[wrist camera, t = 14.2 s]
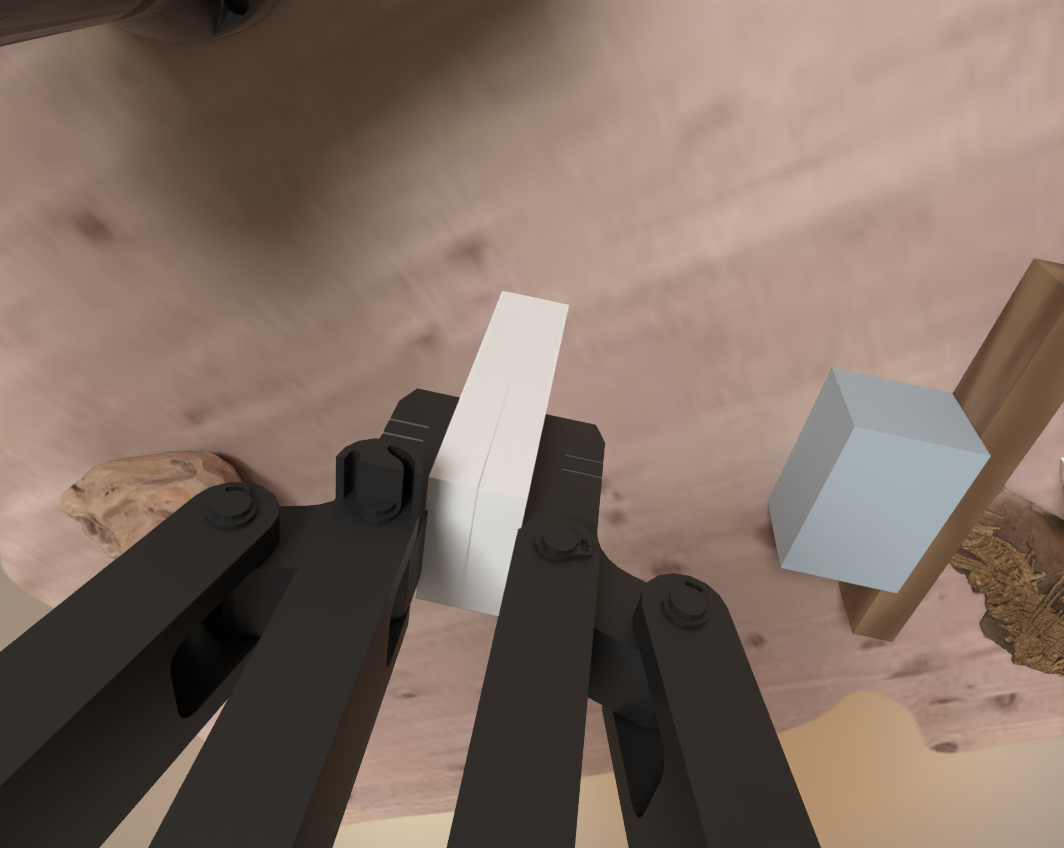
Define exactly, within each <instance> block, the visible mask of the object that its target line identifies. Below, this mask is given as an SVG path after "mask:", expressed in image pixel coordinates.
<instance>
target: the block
mask: <svg viewBox="0 0 1064 848" xmlns="http://www.w3.org/2000/svg"><path fill="white" fill-rule="evenodd" d="M990 456H991V455H990V454H989V452H988V451H987V449H986V447H985V446H984V444H983V442H982V441H981V439H980V438H979V436H978V434H977V433H976V431H975V429H974V428H973V426H972V425H971V423H970V421H969V420H968V418H967V416H966V415H965V413H964V412H963V410H962V408H961V407H960V405H959V403H958V402H957V400H956V399H955V397H954V395H953V394H952V393H950V392H945V391H940V390H936V389H931V388H926V387H922V386H917V385H912V384H908V383H903V382H898V381H894V380H889V379H884V378H879V377H875V376H870V375H865V374H861V373H856V372H851V371H847V370H842V369H837V368H833V367H832V368H831V370H830V372H829V374H828V377H827V379H826V381H825V383H824V385H823V387H822V389H821V391H820V393H819V395H818V398H817V400H816V402H815V404H814V406H813V408H812V410H811V412H810V414H809V416H808V419H807V421H806V423H805V425H804V427H803V429H802V431H801V433H800V435H799V437H798V440H797V442H796V444H795V446H794V448H793V450H792V452H791V454H790V456H789V459H788V461H787V463H786V465H785V467H784V469H783V471H782V473H781V475H780V477H779V480H778V482H777V484H776V486H775V488H774V490H773V492H772V494H771V496H770V498H769V501H768V505H769V511H770V516H771V521H772V526H773V531H774V537H775V542H776V547H777V552H778V557H779V563H780V568H783V569H788V570H792V571H797V572H802V573H806V574H811V575H815V576H820V577H825V578H829V579H834V580H838V581H843V582H847V583H852V584H857V585H861V586H866V587H870V588H875V589H879V590H884V591H889V592H893V593H898V591H899V590H900V588H901V587H902V586H903V584H904V583H905V581H906V580H907V578H908V577H909V575H910V574H911V572H912V571H913V569H914V568H915V566H916V565H917V564H918V562H919V561H920V559H921V558H922V556H923V555H924V553H925V552H926V550H927V549H928V547H929V546H930V544H931V543H932V542H933V540H934V539H935V537H936V536H937V534H938V533H939V531H940V530H941V528H942V527H943V525H944V524H945V522H946V521H947V520H948V518H949V517H950V515H951V514H952V512H953V511H954V509H955V508H956V506H957V505H958V503H959V502H960V500H961V499H962V498H963V496H964V495H965V493H966V492H967V490H968V489H969V487H970V486H971V484H972V483H973V481H974V480H975V478H976V477H977V476H978V474H979V473H980V471H981V470H982V468H983V467H984V465H985V464H986V462H987V461H988V459H989V458H990Z"/></svg>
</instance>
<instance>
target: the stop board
mask: <svg viewBox="0 0 1064 848" xmlns="http://www.w3.org/2000/svg"><path fill="white" fill-rule="evenodd" d="M953 395H954V397H955V399H956V400H957V402H958V403H959V405H960V407H961V408H962V410H963V412H964V413H965V415H966V416H967V418H968V420H969V421H970V423H971V425H972V426H973V428H974V429H975V431H976V433H977V434H978V436H979V438H980V439H981V441H982V442H983V444H984V446H985V447H986V449H987V451H988V452H989V454H990V455H991V456H990V458H989V459H988V461H987V462H986V464H985V465H984V467H983V468H982V470H981V471H980V473H979V474H978V476H977V477H976V478H975V480H974V481H973V483H972V484H971V486H970V487H969V489H968V490H967V492H966V493H965V495H964V496H963V498H962V499H961V500H960V502H959V503H958V505H957V506H956V508H955V509H954V511H953V512H952V514H951V515H950V517H949V518H948V520H947V521H946V522H945V524H944V525H943V527H942V528H941V530H940V531H939V533H938V534H937V536H936V537H935V539H934V540H933V542H932V543H931V544H930V546H929V547H928V549H927V550H926V552H925V553H924V555H923V556H922V558H921V559H920V561H919V562H918V564H917V565H916V566H915V568H914V569H913V571H912V572H911V574H910V575H909V577H908V578H907V580H906V581H905V583H904V584H903V586H902V587H901V588H900V590H899V591H898V593H893V592H889V591H884V590H879V589H875V588H870V587H866V586H861V585H857V584H852V583H847V582H843V581H840V582H839V586H840V589H841V593H842V597H843V600H844V604H845V607H846V611H847V615H848V618H849V622H850V626H851V629H852V633H853V634H858V635H863V636H867V637H872V638H876V639H881V640H886V641H890V642H893V640H894V639H895V638H896V636H897V635H898V633H899V632H900V631H901V629H902V628H903V626H904V625H905V624H906V622H907V621H908V619H909V618H910V616H911V615H912V614H913V612H914V611H915V609H916V608H917V607H918V605H919V604H920V602H921V601H922V600H923V598H924V597H925V595H926V594H927V593H928V591H929V590H930V588H931V587H932V586H933V584H934V583H935V581H936V580H937V579H938V577H939V576H940V574H941V573H942V572H943V570H944V569H945V567H946V566H947V565H948V563H949V562H950V560H951V559H952V558H953V556H954V555H955V553H956V552H957V551H958V549H959V548H960V546H961V545H962V544H963V542H964V541H965V539H966V538H967V536H968V535H969V534H970V532H971V531H972V529H973V528H974V527H975V525H976V524H977V522H978V521H979V520H980V518H981V517H982V515H983V514H984V513H985V511H986V510H987V508H988V507H989V506H990V504H991V503H992V501H993V500H994V499H995V497H996V496H997V494H998V493H999V492H1000V490H1001V489H1002V487H1003V486H1004V485H1005V483H1006V482H1007V480H1008V479H1009V478H1010V476H1011V475H1012V473H1013V472H1014V471H1015V469H1016V468H1017V466H1018V465H1019V463H1020V462H1021V461H1022V459H1023V458H1024V456H1025V455H1026V454H1027V452H1028V451H1029V449H1030V448H1031V447H1032V445H1033V444H1034V442H1035V441H1036V440H1037V438H1038V437H1039V435H1040V434H1041V433H1042V431H1043V430H1044V428H1045V427H1046V426H1047V424H1048V423H1049V421H1050V420H1051V419H1052V417H1053V416H1054V414H1055V413H1056V412H1057V410H1058V409H1059V407H1060V406H1061V405H1062V403H1063V402H1064V265H1063V264H1058V263H1054V262H1049V261H1044V260H1039V259H1034V260H1033V261H1032V263H1031V265H1030V266H1029V268H1028V270H1027V271H1026V273H1025V275H1024V276H1023V278H1022V280H1021V281H1020V283H1019V285H1018V286H1017V288H1016V290H1015V291H1014V293H1013V295H1012V296H1011V298H1010V300H1009V301H1008V303H1007V305H1006V306H1005V308H1004V310H1003V311H1002V313H1001V315H1000V316H999V318H998V320H997V321H996V323H995V325H994V326H993V328H992V330H991V331H990V333H989V335H988V336H987V338H986V340H985V341H984V343H983V345H982V346H981V348H980V350H979V351H978V353H977V354H976V356H975V358H974V359H973V361H972V363H971V364H970V366H969V368H968V369H967V371H966V373H965V374H964V376H963V378H962V379H961V381H960V383H959V384H958V386H957V388H956V389H955V391H954V393H953Z"/></svg>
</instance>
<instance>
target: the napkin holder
mask: <svg viewBox="0 0 1064 848" xmlns="http://www.w3.org/2000/svg"><path fill="white" fill-rule="evenodd" d="M1061 475H1062V485H1063V486H1064V458H1061Z"/></svg>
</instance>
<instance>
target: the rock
mask: <svg viewBox="0 0 1064 848" xmlns="http://www.w3.org/2000/svg"><path fill="white" fill-rule="evenodd" d="M227 482H242V481H241V479H240V478H239V476H238V474H237V472H236V471H235V469H234V467H233V466H231V465H230V464H229V463H227V462H226V461H224V460H223V459H221V458H220V457H218V456H216V455H214V454H212V453H210V452H192V451H177V452H168V453H163V454H156V455H148V456H139V457H130V458H125V459H120V460H114V461H109V462H106V463H103V464H100V465H98V466H95V467H92V468H91V470H90V471H89V472H88V473H87V474H86V475H85V476H84V477H83V478H82V479H80V480H79V481H78V482H76V483H75V484H74V485H72V486H71V487H70V488H68V489H67V490H66V491H64V492H63V493H62V494H61V510H63V511H64V512H65V513H66V514H68V515H69V516H70V517H72V518H73V519H75V520H77V521H78V522H80V524H81V526H82V528H83V531H84V534H85V535H87V536H88V537H89V538H90V539H91V540H93V541H94V542H95V543H96V544H97V545H98V546H99V547H100V548H101V549H102V551H103V552H104V553H105V554H106V555H107V556H108V557H110V558H114V559H117V558H118V557H119V556H120V555H122V554H123V553H124V552H125V551H127V550H128V549H129V548H130V547H132V546H133V545H134V544H135V543H136V542H138V541H139V540H140V539H141V538H143V537H144V536H145V535H146V534H148V533H149V532H150V531H151V530H153V529H154V528H155V527H156V526H158V525H159V524H160V523H161V522H163V521H164V520H165V519H166V518H168V517H169V516H170V515H171V514H173V513H174V512H175V511H176V510H178V509H179V508H180V507H181V506H183V505H184V504H185V503H186V502H188V501H189V500H190V499H191V498H193V497H194V496H195V495H197V494H198V493H200V492H202V491H204V490H205V489H207V488H209V487H211V486H215V485H219V484H223V483H227Z"/></svg>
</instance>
